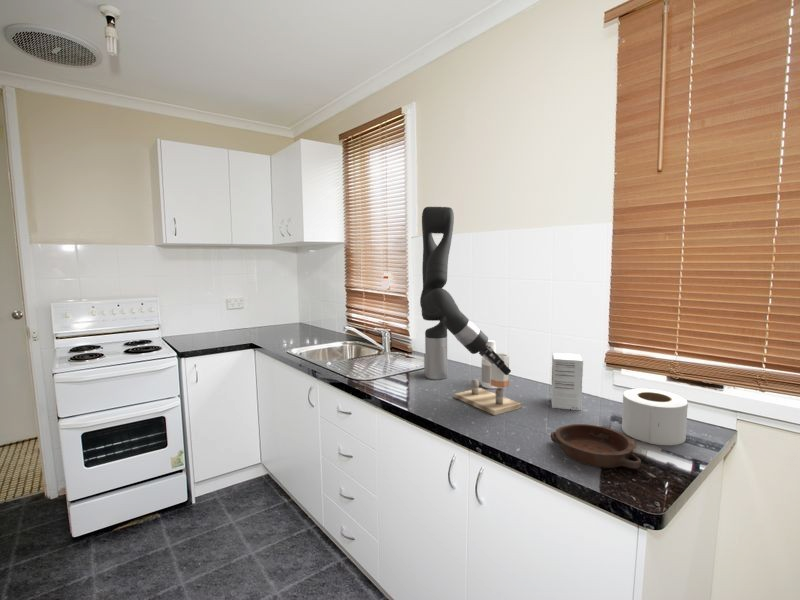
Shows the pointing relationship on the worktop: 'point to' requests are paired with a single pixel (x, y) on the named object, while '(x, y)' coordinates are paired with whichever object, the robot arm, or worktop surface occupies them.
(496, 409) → the pin board
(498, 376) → the sleeve
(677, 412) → the white paper roll
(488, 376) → the spray bottle
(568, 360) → the supplement box
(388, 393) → the worktop surface
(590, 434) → the dish
